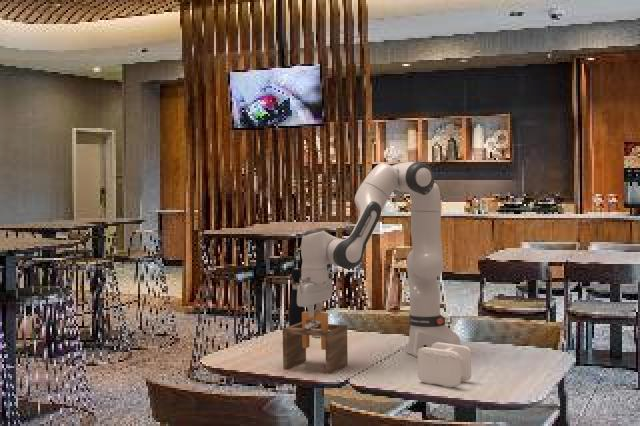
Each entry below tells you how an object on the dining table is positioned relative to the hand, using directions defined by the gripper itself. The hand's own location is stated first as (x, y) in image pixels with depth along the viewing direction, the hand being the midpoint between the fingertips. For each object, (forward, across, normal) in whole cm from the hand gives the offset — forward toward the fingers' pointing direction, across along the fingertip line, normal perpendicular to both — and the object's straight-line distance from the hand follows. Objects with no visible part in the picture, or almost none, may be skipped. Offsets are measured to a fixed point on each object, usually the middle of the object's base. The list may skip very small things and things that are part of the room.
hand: (315, 315), depth 286 cm
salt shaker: (+18, +49, +23) cm, 57 cm away
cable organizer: (+18, -3, -48) cm, 51 cm away
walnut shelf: (+18, 0, 0) cm, 18 cm away
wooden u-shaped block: (+11, 0, 0) cm, 11 cm away
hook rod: (+4, 0, 0) cm, 4 cm away
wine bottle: (+18, +29, +23) cm, 41 cm away
